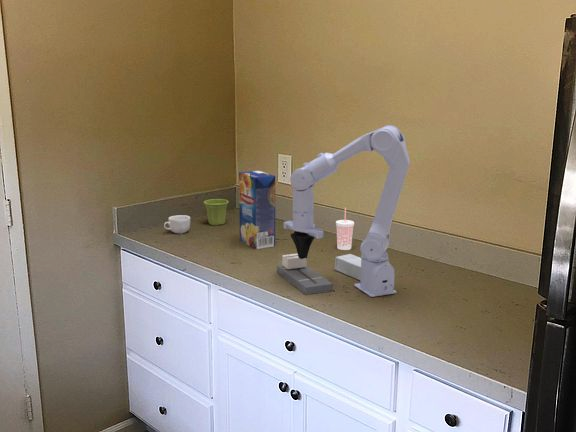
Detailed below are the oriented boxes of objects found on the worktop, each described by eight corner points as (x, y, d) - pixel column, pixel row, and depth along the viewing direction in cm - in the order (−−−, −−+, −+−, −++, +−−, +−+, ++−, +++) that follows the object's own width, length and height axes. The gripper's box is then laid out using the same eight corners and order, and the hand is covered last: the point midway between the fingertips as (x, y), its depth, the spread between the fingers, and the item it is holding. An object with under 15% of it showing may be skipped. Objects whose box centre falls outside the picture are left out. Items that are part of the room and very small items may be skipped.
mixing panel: (332, 290, 165) (332, 283, 164) (305, 294, 162) (305, 287, 161) (301, 268, 183) (301, 261, 182) (277, 271, 180) (277, 265, 179)
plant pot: (201, 226, 230) (200, 203, 228) (208, 220, 239) (207, 198, 237) (225, 227, 229) (224, 204, 227) (231, 221, 238) (231, 199, 236)
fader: (306, 266, 177) (306, 256, 176) (287, 269, 175) (287, 258, 174) (300, 262, 181) (301, 252, 180) (282, 265, 178) (282, 255, 177)
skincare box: (334, 270, 182) (361, 283, 172) (334, 255, 180) (361, 268, 171) (350, 266, 185) (377, 278, 175) (351, 252, 184) (378, 264, 174)
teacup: (184, 228, 227) (184, 214, 226) (194, 232, 221) (194, 218, 220) (159, 232, 221) (159, 217, 220) (169, 237, 215) (168, 222, 214)
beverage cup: (348, 244, 208) (350, 204, 204) (356, 249, 202) (357, 208, 199) (332, 246, 206) (333, 205, 202) (339, 251, 200) (340, 209, 197)
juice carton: (275, 246, 205) (275, 175, 199) (255, 249, 202) (255, 177, 196) (258, 237, 215) (258, 170, 209) (239, 240, 212) (238, 172, 206)
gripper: (331, 213, 166) (331, 261, 169) (296, 204, 176) (296, 249, 180) (312, 217, 161) (312, 266, 164) (277, 208, 172) (278, 254, 175)
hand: (302, 257), depth 172 cm, fingers closed
